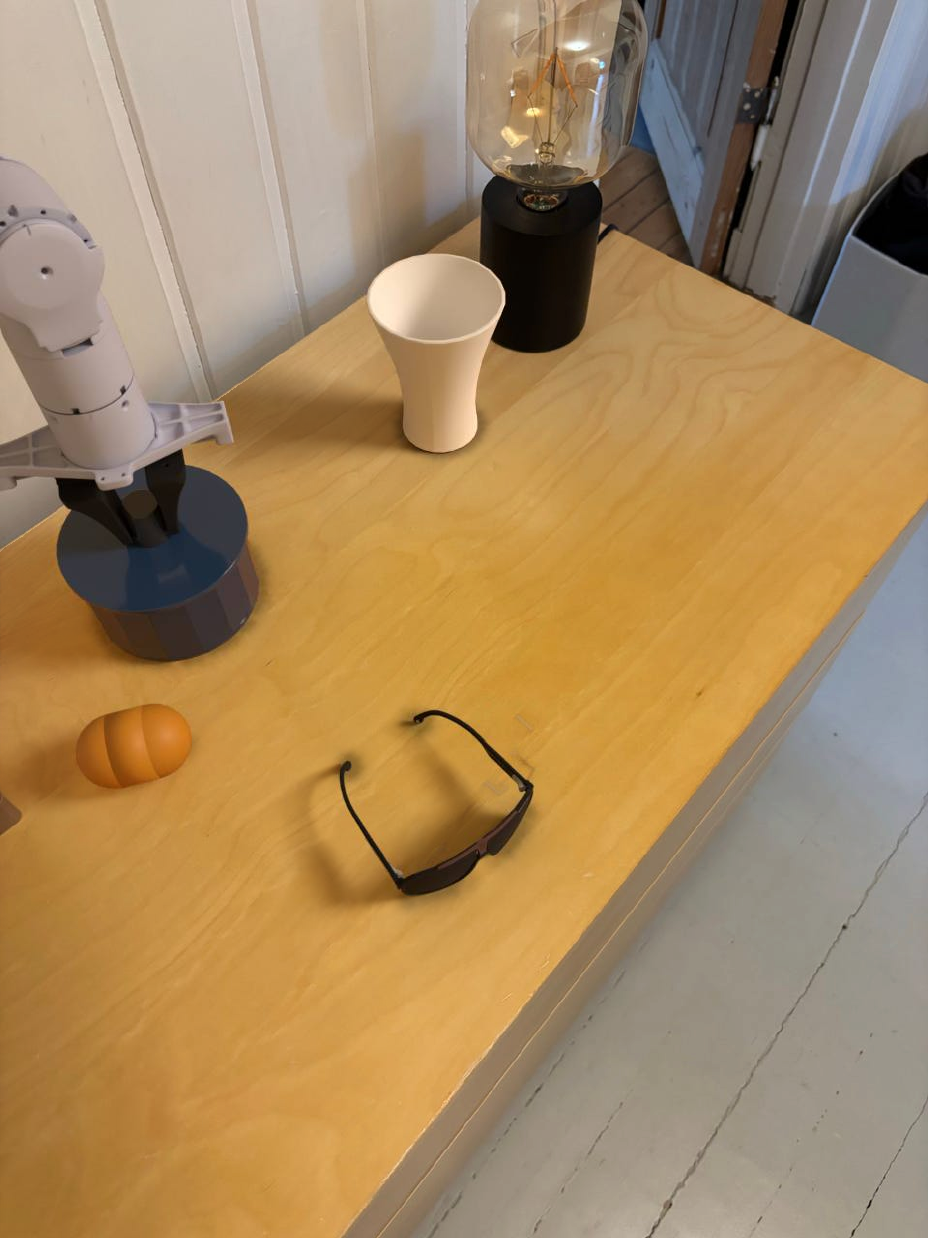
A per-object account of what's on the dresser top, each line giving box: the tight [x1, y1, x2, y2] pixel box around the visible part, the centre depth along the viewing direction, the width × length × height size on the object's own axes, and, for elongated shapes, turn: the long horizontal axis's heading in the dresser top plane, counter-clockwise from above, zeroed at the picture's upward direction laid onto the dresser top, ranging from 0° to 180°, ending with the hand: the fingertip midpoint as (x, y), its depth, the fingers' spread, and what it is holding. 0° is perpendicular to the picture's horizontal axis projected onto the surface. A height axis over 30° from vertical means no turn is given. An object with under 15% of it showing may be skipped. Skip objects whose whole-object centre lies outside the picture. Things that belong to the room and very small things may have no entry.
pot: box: [84, 538, 260, 663], centre depth 69 cm, size 12×12×6 cm
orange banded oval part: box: [74, 703, 193, 790], centre depth 62 cm, size 7×5×5 cm
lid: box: [55, 464, 249, 615], centre depth 65 cm, size 13×13×4 cm
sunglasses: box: [339, 709, 535, 897], centre depth 61 cm, size 11×12×5 cm
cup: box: [365, 253, 506, 453], centre depth 76 cm, size 10×10×14 cm
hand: (150, 528), depth 65 cm, fingers closed on lid, 2 cm apart
